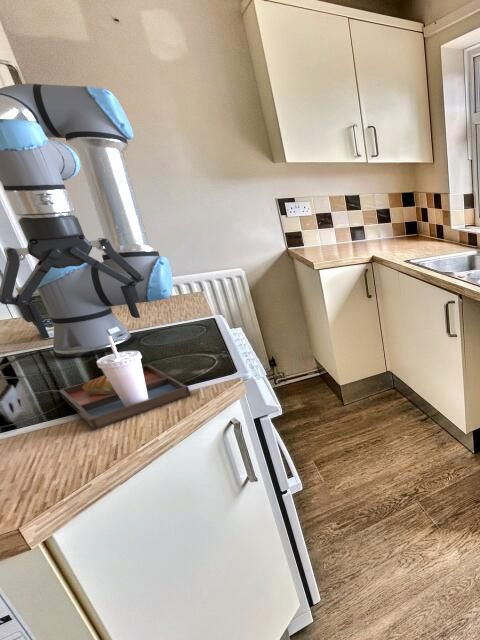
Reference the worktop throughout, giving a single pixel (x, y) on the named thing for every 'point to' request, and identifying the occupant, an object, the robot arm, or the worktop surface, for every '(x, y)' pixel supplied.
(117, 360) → the smoothie
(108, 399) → the sorting tray
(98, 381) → the pastry
